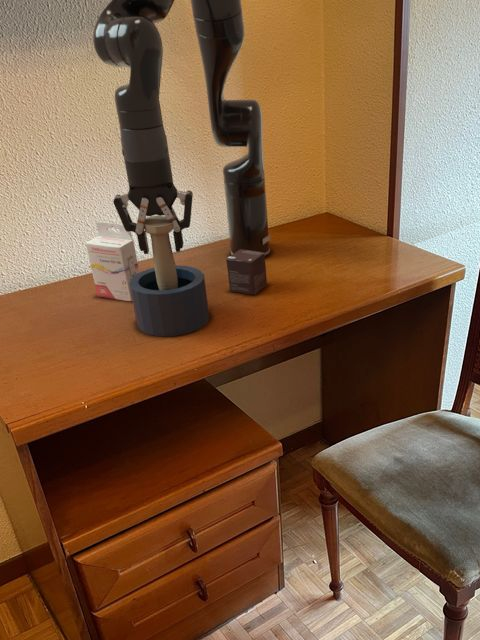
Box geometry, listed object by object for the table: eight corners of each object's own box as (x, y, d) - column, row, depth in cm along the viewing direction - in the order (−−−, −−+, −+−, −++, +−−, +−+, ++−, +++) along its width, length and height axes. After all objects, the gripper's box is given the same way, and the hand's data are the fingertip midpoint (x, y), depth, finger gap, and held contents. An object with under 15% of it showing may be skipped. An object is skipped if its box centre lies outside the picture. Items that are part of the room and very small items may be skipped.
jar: (141, 307, 134) (133, 267, 129) (209, 303, 135) (204, 263, 130) (133, 338, 123) (124, 296, 118) (208, 333, 124) (202, 291, 119)
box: (267, 285, 142) (265, 252, 138) (254, 296, 137) (251, 262, 133) (243, 281, 144) (240, 248, 140) (229, 291, 140) (225, 258, 135)
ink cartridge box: (96, 297, 139) (80, 228, 130) (109, 288, 142) (94, 220, 134) (131, 302, 136) (117, 231, 128) (144, 292, 140) (131, 223, 132)
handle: (165, 308, 123) (152, 228, 115) (151, 296, 128) (137, 219, 119) (189, 301, 125) (177, 222, 117) (174, 290, 130) (162, 213, 121)
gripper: (190, 146, 115) (202, 242, 125) (106, 151, 114) (125, 246, 124) (188, 157, 109) (201, 256, 119) (99, 162, 108) (120, 261, 118)
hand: (162, 251), depth 121 cm, fingers closed on handle, 5 cm apart
